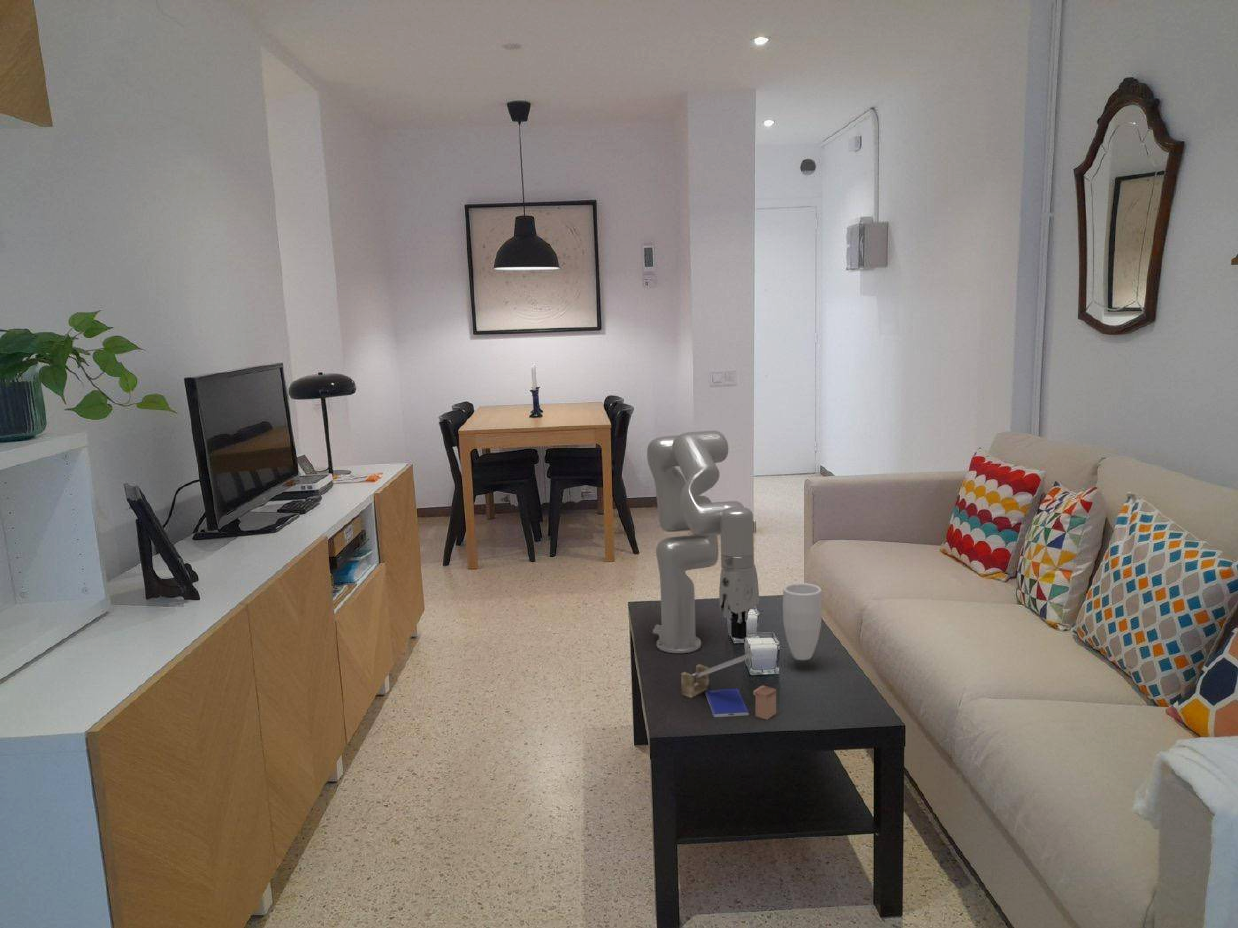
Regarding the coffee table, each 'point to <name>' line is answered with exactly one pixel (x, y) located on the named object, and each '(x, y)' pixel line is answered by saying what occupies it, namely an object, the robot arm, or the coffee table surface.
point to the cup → (802, 618)
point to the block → (765, 702)
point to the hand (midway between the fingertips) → (739, 637)
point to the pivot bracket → (688, 682)
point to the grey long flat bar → (722, 666)
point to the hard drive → (726, 703)
